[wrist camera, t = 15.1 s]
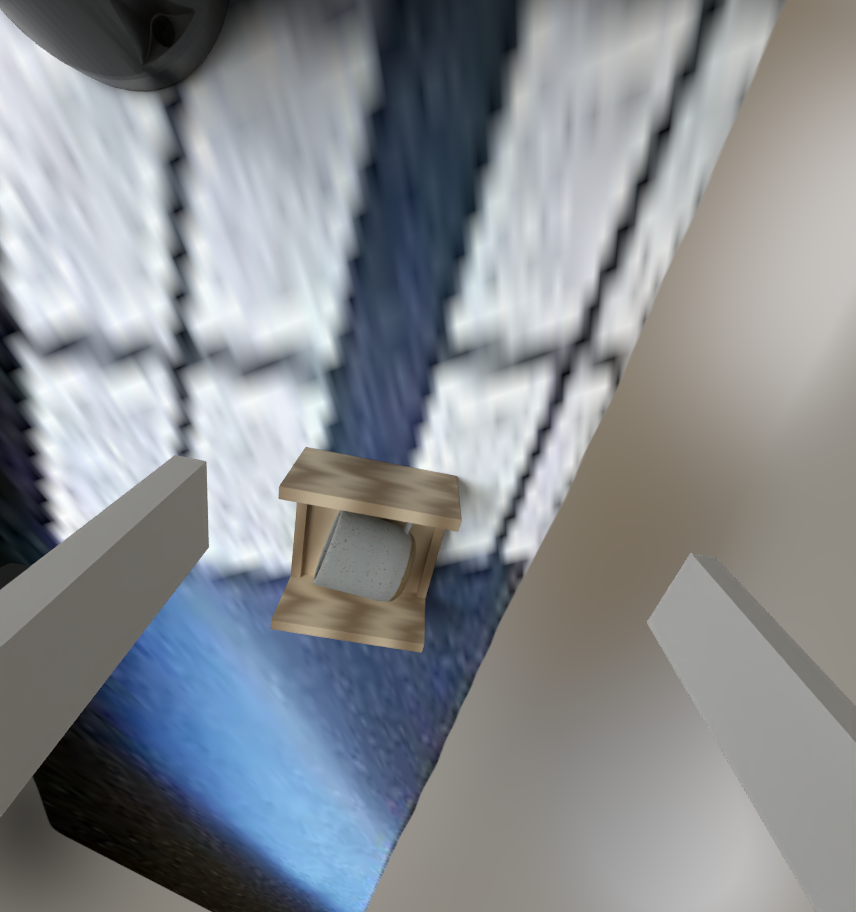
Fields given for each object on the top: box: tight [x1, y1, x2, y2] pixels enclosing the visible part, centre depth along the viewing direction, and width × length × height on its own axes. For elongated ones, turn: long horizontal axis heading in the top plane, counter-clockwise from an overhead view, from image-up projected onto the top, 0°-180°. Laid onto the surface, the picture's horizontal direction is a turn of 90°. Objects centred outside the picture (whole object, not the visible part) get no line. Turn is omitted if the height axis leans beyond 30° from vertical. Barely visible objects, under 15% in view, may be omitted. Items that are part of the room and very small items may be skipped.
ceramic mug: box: [313, 510, 416, 602], centre depth 39 cm, size 11×8×8 cm
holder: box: [271, 447, 462, 653], centre depth 40 cm, size 15×16×8 cm
